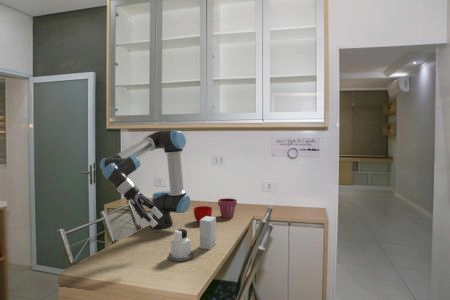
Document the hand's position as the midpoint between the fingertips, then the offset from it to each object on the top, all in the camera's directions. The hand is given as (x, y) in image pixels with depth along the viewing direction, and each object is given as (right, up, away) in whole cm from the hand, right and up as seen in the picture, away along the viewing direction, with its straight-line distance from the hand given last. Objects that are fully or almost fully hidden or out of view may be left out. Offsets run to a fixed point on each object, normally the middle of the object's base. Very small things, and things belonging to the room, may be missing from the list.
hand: (158, 221), depth 135 cm
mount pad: (+11, -18, -1) cm, 21 cm away
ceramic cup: (+18, -16, +57) cm, 62 cm away
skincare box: (+24, -17, +13) cm, 32 cm away
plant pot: (+35, -16, +73) cm, 83 cm away
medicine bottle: (+11, -16, 0) cm, 20 cm away
